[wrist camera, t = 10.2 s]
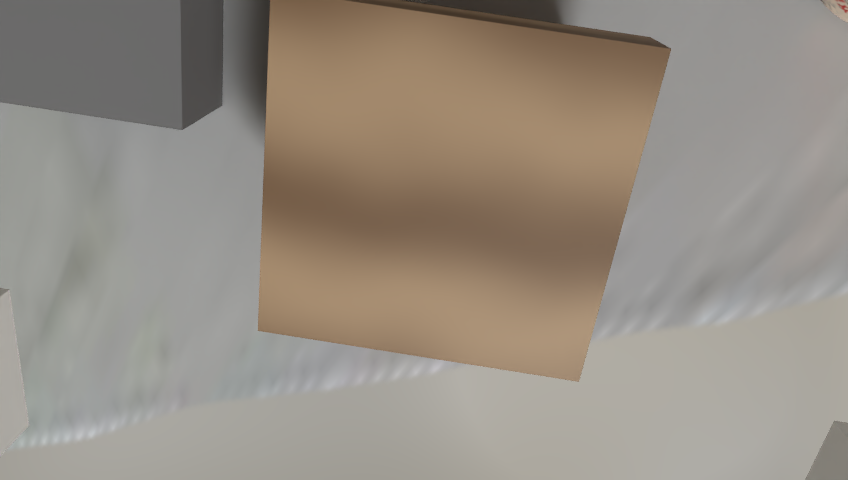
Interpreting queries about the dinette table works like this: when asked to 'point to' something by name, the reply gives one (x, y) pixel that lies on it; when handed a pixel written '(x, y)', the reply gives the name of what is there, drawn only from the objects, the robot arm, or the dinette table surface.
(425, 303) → the lid
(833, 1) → the teacup with lid
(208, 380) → the dinette table surface
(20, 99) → the gray rectangular block
